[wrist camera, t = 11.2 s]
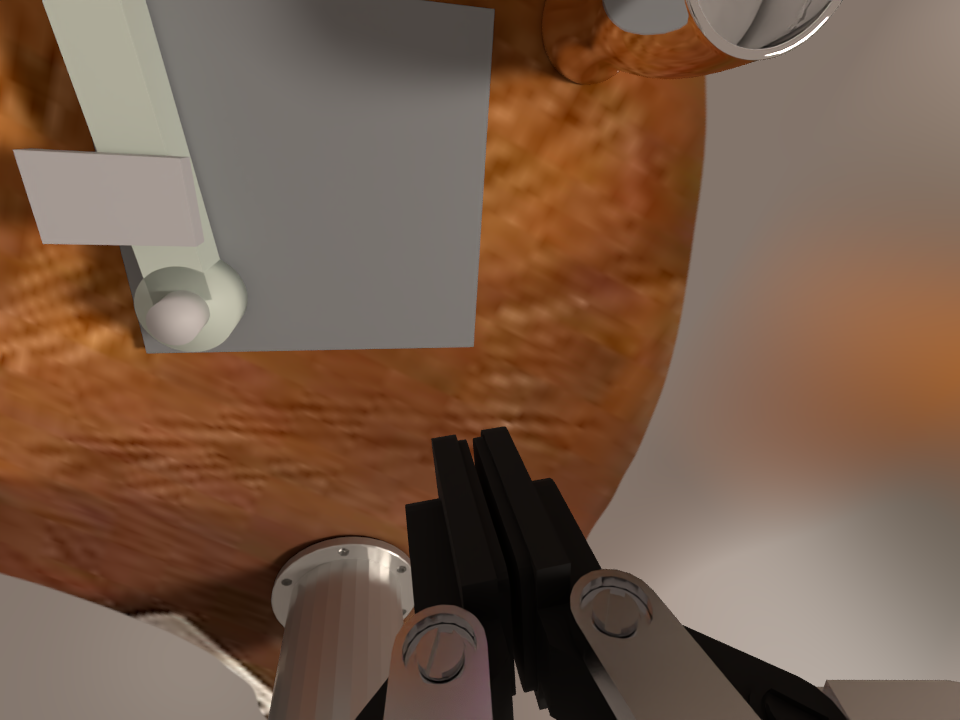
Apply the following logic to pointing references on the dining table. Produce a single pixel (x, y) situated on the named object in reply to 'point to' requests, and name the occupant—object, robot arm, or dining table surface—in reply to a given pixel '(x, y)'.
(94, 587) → the dining table surface
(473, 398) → the dining table surface
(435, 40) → the board
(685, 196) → the dining table surface
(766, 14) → the beer glass
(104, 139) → the link
